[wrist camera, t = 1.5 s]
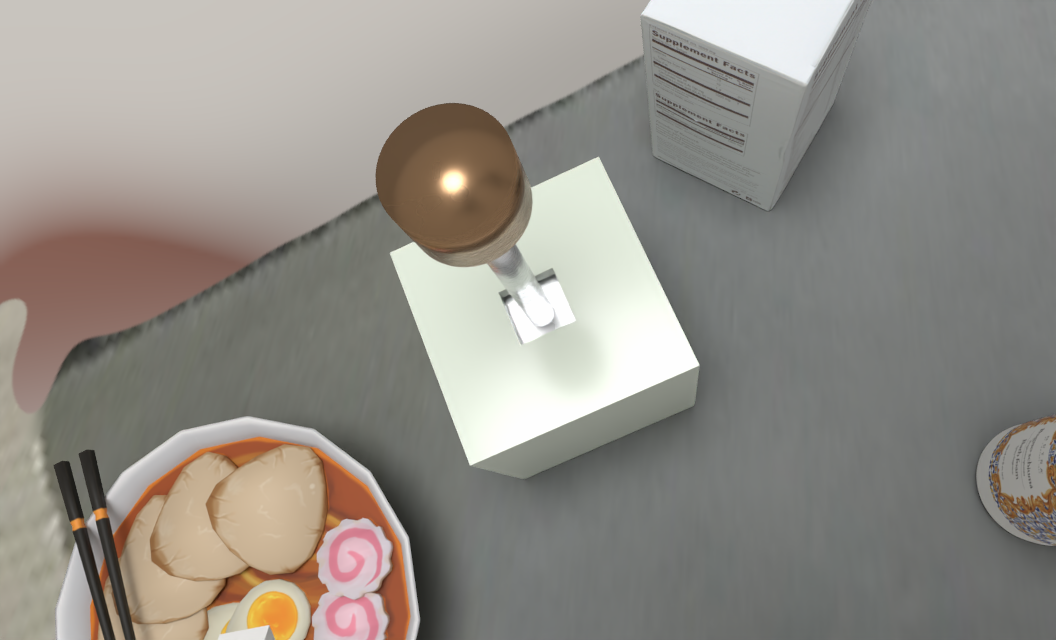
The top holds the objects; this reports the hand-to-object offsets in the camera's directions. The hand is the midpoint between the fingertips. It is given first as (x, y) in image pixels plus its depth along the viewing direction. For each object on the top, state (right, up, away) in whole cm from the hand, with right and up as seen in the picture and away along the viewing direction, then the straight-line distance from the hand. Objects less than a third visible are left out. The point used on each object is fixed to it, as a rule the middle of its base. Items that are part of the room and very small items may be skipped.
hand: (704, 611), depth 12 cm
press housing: (0, +2, +41) cm, 41 cm away
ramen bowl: (-18, -14, +41) cm, 47 cm away
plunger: (-2, +5, +30) cm, 30 cm away
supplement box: (+12, +18, +43) cm, 48 cm away
